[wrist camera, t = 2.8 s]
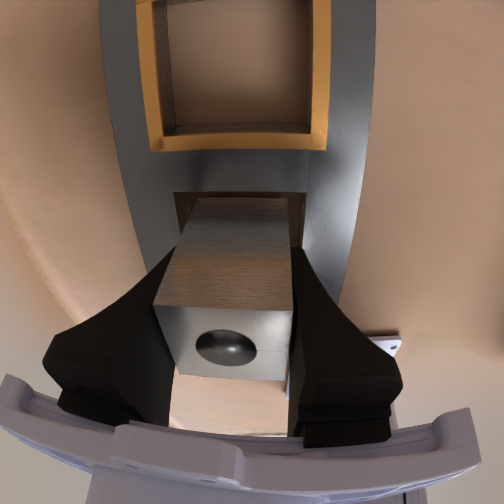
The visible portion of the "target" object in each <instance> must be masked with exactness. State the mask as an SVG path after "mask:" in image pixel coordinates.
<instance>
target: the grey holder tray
mask: <svg viewBox="0 0 504 504" xmlns="http://www.w3.org/2000/svg"><path fill="white" fill-rule="evenodd" d="M194 1H202V0H99V10H100V29H101V42H102V54H103V64H104V73H105V81H106V89H107V96H108V103H109V109H110V116H111V122H112V128H113V133H114V139H115V144H116V150H117V155H118V160H119V164H120V169H121V174H122V178H123V183H124V187H125V192H126V196H127V200H128V204H129V208H130V212H131V216H132V220H133V224H134V227H135V231H136V235H137V238H138V242H139V246H140V249H141V253H142V256H143V259H144V263H145V266H146V269H147V273H149V272H150V271H151V270H152V269H153V268H154V267H155V266H156V265H157V264H158V263H159V262H160V261H161V260H162V259H163V258H164V257H165V256H166V255H167V254H168V253H169V252H170V251H171V250H172V249H173V248H174V247H175V246H176V245H177V243H178V241H179V239H180V236H181V234H182V232H183V229H184V227H185V225H186V223H187V220H188V214H187V207H186V200H185V193H184V192H204V191H266V192H303V197H302V211H301V225H300V238H299V247H302V248H303V249H304V251H305V253H306V256H307V258H308V260H309V262H310V264H311V266H312V268H313V270H314V272H315V273H316V275H317V277H318V278H319V280H320V282H321V283H322V285H323V286H324V288H325V289H326V291H327V292H328V294H329V295H330V297H331V298H332V299H333V301H334V302H335V303H336V305H338V301H339V297H340V293H341V289H342V285H343V280H344V276H345V271H346V267H347V262H348V258H349V253H350V248H351V243H352V238H353V233H354V228H355V222H356V217H357V211H358V206H359V200H360V194H361V187H362V181H363V174H364V167H365V160H366V152H367V144H368V136H369V127H370V117H371V107H372V95H373V81H374V64H375V38H376V0H308V82H307V118H306V124H305V123H269V122H249V123H213V124H195V125H180V126H176V123H175V113H174V104H173V93H172V82H171V70H170V57H169V43H168V26H167V6H168V5H174V4H180V3H187V2H194Z"/></svg>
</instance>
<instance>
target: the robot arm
mask: <svg viewBox="0 0 504 504" xmlns="http://www.w3.org/2000/svg"><path fill="white" fill-rule="evenodd" d="M176 246H177V245H176ZM176 246H175V247H174V248H173V249H172V250H171V251H170V252H169V253H168V254H167V255H166V256H165V257H164V258H163V259H162V260H161V261H160V262H159V263H158V264H157V265H156V266H155V267H154V268H153V269H152V270H151V271H150V272H149V273H148V274H147V275H146V276H145V277H144V278H143V279H142V280H141V281H139V282H138V283H137V284H136V285H135V286H134V287H133V288H132V289H131V290H129V291H128V292H127V293H126V294H125V295H123V296H122V297H121V298H119V299H118V300H117V301H116V302H114V303H113V304H111V305H110V306H108V307H107V308H105V309H104V310H102V311H101V312H99V313H98V314H96V315H95V316H93V317H91V318H89V319H88V320H86V321H84V322H82V323H80V324H78V325H76V326H75V327H72V328H70V329H68V330H66V331H64V332H61V333H59V334H57V335H55V336H54V338H53V340H52V342H51V344H50V346H49V348H48V350H47V352H46V354H45V356H44V358H43V362H42V363H43V366H44V368H45V370H46V371H47V373H48V374H49V375H50V376H51V377H52V378H53V379H54V380H55V382H56V383H57V384H58V385H59V386H60V387H61V388H62V389H63V390H62V392H61V395H60V397H59V400H58V399H55V398H52V397H49V396H46V395H44V394H41V393H39V392H36V391H34V390H33V389H32V387H31V386H30V385H29V384H27V383H26V382H25V381H23V380H21V379H19V378H17V377H14V376H12V375H9V374H6V375H5V377H4V379H3V382H2V384H1V386H0V427H1V428H2V429H3V430H5V431H6V432H8V433H9V434H11V435H12V436H13V437H15V438H17V439H18V440H19V441H21V442H23V443H25V444H27V445H29V446H31V447H33V448H35V449H37V450H39V451H41V452H43V453H45V454H47V455H49V456H51V457H53V458H55V459H57V460H60V461H62V462H64V463H66V464H68V465H71V466H73V467H75V468H78V469H80V470H83V471H85V472H88V473H90V474H92V478H91V483H90V487H89V491H88V495H87V500H86V504H427V495H426V487H427V486H431V485H434V484H437V483H440V482H444V481H447V480H449V479H452V478H454V477H456V476H458V475H460V474H462V473H464V472H466V471H468V470H470V469H472V468H474V467H476V466H478V465H479V464H481V456H480V452H479V446H478V442H477V437H476V432H475V428H474V424H473V420H472V416H471V412H470V409H469V408H463V409H459V410H455V411H451V412H447V413H444V414H442V415H440V416H439V417H437V418H436V419H435V420H434V421H433V423H428V424H423V425H418V426H413V427H407V428H401V429H398V425H397V419H396V413H395V407H394V400H395V399H396V397H397V396H398V395H399V393H400V392H401V390H402V388H403V382H402V378H401V374H400V371H399V368H398V366H397V363H396V361H395V358H394V355H395V354H396V352H397V350H398V348H399V347H400V345H401V343H402V339H401V336H397V335H396V336H377V337H366V336H365V335H364V334H363V333H362V332H361V331H360V330H359V329H358V328H357V327H356V326H355V325H354V324H353V323H352V322H351V321H350V320H349V319H348V318H347V317H346V315H345V314H344V313H343V312H342V311H341V310H340V308H339V307H338V306H337V305H336V303H335V302H334V301H333V299H332V298H331V297H330V295H329V294H328V292H327V291H326V289H325V288H324V286H323V285H322V283H321V282H320V280H319V278H318V277H317V275H316V273H315V272H314V270H313V268H312V266H311V264H310V262H309V260H308V258H307V256H306V253H305V251H304V249H303V248H302V247H290V254H291V274H292V297H293V316H292V325H291V333H290V342H289V355H290V367H289V374H288V381H287V387H286V393H285V399H286V400H289V411H288V434H287V437H256V436H239V435H226V434H215V433H206V432H198V431H190V430H183V429H176V428H170V427H168V426H169V412H170V401H171V392H172V384H173V377H174V370H175V362H174V360H173V357H172V355H171V352H170V350H169V347H168V345H167V342H166V339H165V337H164V334H163V332H162V329H161V326H160V324H159V321H158V318H157V316H156V313H155V310H154V307H153V302H154V299H155V297H156V294H157V292H158V289H159V287H160V284H161V282H162V279H163V277H164V274H165V272H166V269H167V267H168V265H169V262H170V260H171V257H172V255H173V253H174V250H175V248H176Z"/></svg>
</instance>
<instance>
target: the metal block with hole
mask: <svg viewBox="0 0 504 504" xmlns="http://www.w3.org/2000/svg"><path fill="white" fill-rule="evenodd" d="M153 307H154V310H155V313H156V316H157V318H158V321H159V324H160V326H161V329H162V332H163V334H164V337H165V339H166V342H167V345H168V347H169V350H170V352H171V355H172V357H173V360H174V362H175V364H176V367H177V369H178V372H179V374H184V375H194V376H204V377H215V378H229V379H246V380H272V381H285V373H286V366H287V358H288V350H289V342H290V333H291V325H292V316H293V297H292V274H291V254H290V236H289V219H288V204H287V198H197V200H196V203H195V205H194V207H193V209H192V211H191V214H190V216H189V218H188V220H187V223H186V225H185V227H184V229H183V232H182V234H181V236H180V239H179V241H178V243H177V246H176V248H175V250H174V253H173V255H172V257H171V260H170V262H169V265H168V267H167V269H166V272H165V274H164V277H163V279H162V282H161V284H160V287H159V289H158V292H157V294H156V297H155V299H154V302H153Z"/></svg>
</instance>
